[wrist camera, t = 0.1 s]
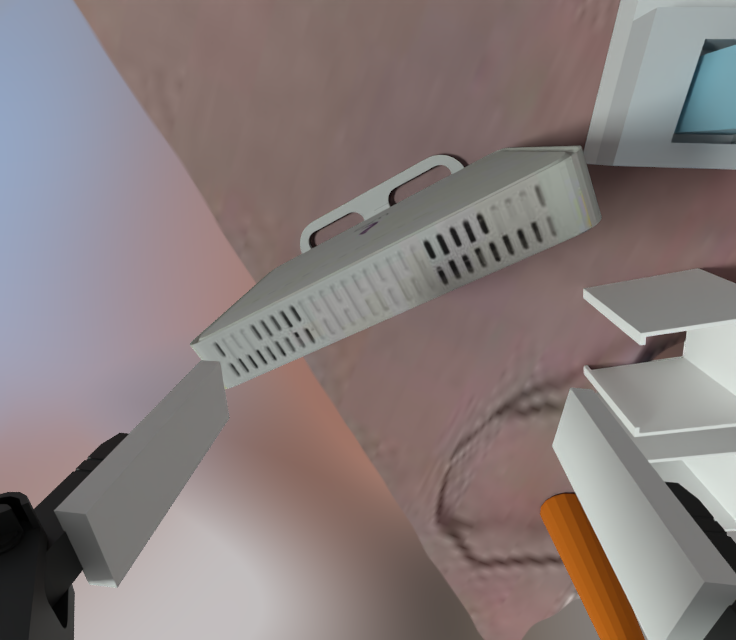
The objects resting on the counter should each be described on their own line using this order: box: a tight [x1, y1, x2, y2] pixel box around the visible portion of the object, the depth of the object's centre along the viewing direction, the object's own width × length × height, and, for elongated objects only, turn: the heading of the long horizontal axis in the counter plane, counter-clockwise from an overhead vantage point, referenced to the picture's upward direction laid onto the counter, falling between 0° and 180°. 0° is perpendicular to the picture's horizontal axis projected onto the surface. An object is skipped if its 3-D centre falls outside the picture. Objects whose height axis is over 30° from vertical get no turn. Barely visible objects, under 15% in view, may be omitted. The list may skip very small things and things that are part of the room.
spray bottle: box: [540, 493, 645, 640], centre depth 41 cm, size 7×11×26 cm, turn 61°
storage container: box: [583, 268, 736, 531], centre depth 39 cm, size 25×11×11 cm, turn 14°
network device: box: [190, 146, 602, 389], centre depth 30 cm, size 26×9×20 cm, turn 118°
